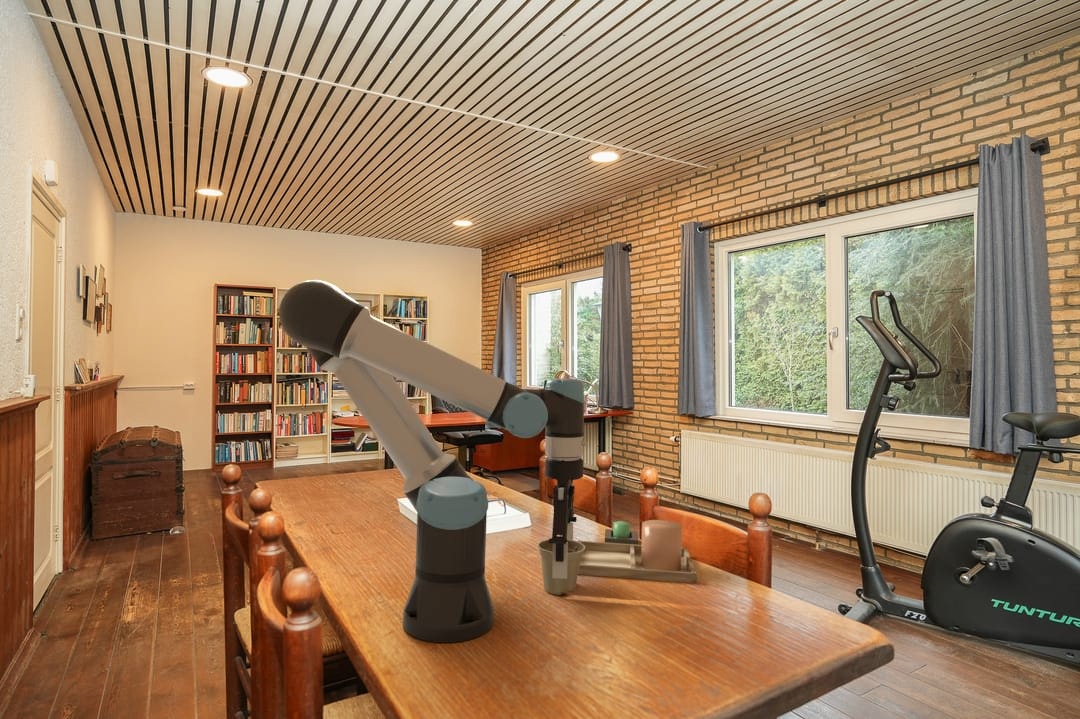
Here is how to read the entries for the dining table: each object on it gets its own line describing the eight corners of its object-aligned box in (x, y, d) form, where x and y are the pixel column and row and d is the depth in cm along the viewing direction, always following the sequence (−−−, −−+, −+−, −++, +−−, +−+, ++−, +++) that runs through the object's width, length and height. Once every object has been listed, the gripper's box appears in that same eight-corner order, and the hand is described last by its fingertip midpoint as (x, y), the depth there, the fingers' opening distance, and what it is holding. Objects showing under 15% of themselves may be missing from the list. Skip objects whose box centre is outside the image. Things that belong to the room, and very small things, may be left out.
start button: (629, 546, 144) (630, 526, 144) (612, 545, 145) (613, 524, 145) (629, 542, 148) (629, 521, 148) (613, 540, 149) (613, 520, 149)
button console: (638, 553, 142) (638, 540, 142) (604, 550, 143) (604, 538, 143) (637, 543, 150) (637, 531, 150) (605, 540, 151) (605, 529, 151)
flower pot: (584, 582, 122) (586, 540, 122) (583, 600, 112) (584, 554, 112) (538, 579, 123) (540, 537, 123) (533, 597, 113) (535, 551, 113)
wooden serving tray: (696, 587, 121) (696, 574, 121) (572, 577, 124) (572, 564, 124) (686, 559, 139) (686, 548, 139) (577, 551, 142) (578, 540, 142)
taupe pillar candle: (683, 574, 126) (684, 531, 126) (641, 571, 127) (643, 528, 127) (678, 561, 134) (679, 521, 135) (639, 558, 136) (641, 518, 136)
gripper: (579, 469, 105) (578, 590, 105) (586, 448, 130) (585, 547, 130) (536, 467, 106) (535, 587, 106) (552, 447, 131) (551, 545, 130)
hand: (563, 565), depth 118 cm, fingers open, 13 cm apart
